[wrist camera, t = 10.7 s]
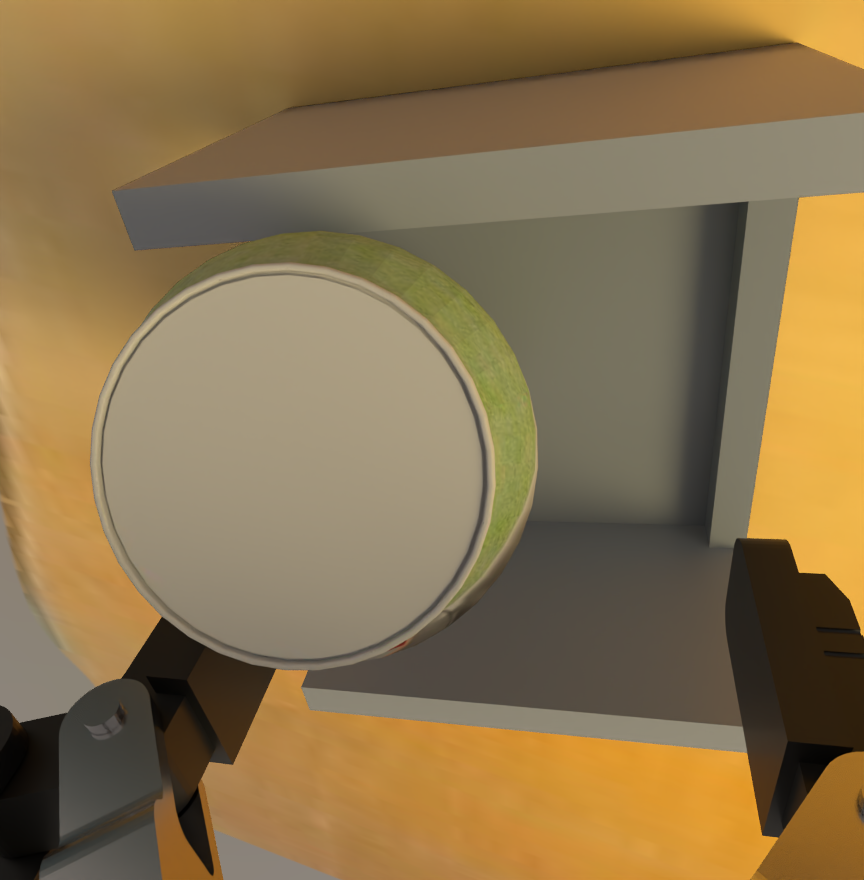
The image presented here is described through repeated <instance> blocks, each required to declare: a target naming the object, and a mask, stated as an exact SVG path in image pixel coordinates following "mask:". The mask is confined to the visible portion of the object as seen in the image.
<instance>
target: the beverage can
mask: <svg viewBox="0 0 864 880" xmlns="http://www.w3.org/2000/svg"><path fill="white" fill-rule="evenodd" d="M90 467H91V475H92V484H93V492H94V499H95V503H96V506H97V510H98V513H99V517H100V520H101V524H102V527H103V531H104V533H105V535H106V537H107V539H108V541H109V544H110V546H111V548H112V550H113V552H114V554H115V556H116V558H117V560H118V563H119V564H120V566H121V567H122V568H123V570H124V571H125V573H126V574H127V576H128V577H129V579H130V580H131V582H132V583H133V584H134V586H135V587H136V589H137V590H138V592H139V593H140V594H141V595H142V596H143V597H144V598H145V599H146V600H147V601H148V602H149V603H150V604H151V605H152V606H153V607H154V608H155V609H156V611H157V612H158V613H159V614H160V615H161V616H162V617H164V618H165V619H166V620H168V621H169V622H170V623H171V624H173V625H174V626H175V627H177V628H178V629H179V630H181V631H182V632H183V633H185V634H186V635H187V636H188V637H190V638H192V639H194V640H196V641H197V642H199V643H201V644H203V645H205V646H207V647H209V648H210V649H212V650H214V651H216V652H218V653H220V654H223V655H226V656H229V657H232V658H235V659H237V660H240V661H243V662H246V663H249V664H252V665H258V666H264V667H270V668H276V669H282V670H323V669H328V668H334V667H340V666H346V665H352V664H355V663H358V662H360V661H366V660H372V659H378V658H383V657H385V656H388V655H391V654H394V653H397V652H399V651H402V650H405V649H408V648H411V647H413V646H416V645H418V644H420V643H422V642H423V641H425V640H427V639H429V638H430V637H432V636H434V635H436V634H437V633H439V632H441V631H443V630H444V629H446V628H448V627H449V626H451V625H452V624H453V623H454V622H455V621H457V620H458V619H459V618H460V617H461V616H462V615H464V614H465V613H466V612H467V611H468V610H470V609H471V608H472V607H473V606H474V605H476V604H477V603H478V602H479V600H480V599H481V598H482V597H483V596H484V594H485V593H486V592H487V591H488V590H489V588H490V587H491V586H492V585H493V584H494V582H495V581H496V580H497V579H498V578H499V576H500V575H501V574H502V572H503V570H504V568H505V567H506V565H507V563H508V561H509V560H510V558H511V556H512V554H513V552H514V551H515V549H516V547H517V545H518V544H519V542H520V539H521V536H522V533H523V531H524V528H525V525H526V522H527V519H528V516H529V513H530V510H531V507H532V503H533V497H534V490H535V484H536V477H537V470H538V447H537V426H536V421H535V416H534V412H533V407H532V402H531V397H530V392H529V389H528V386H527V384H526V381H525V379H524V376H523V374H522V371H521V369H520V366H519V364H518V361H517V359H516V356H515V354H514V352H513V351H512V349H511V347H510V346H509V344H508V343H507V341H506V339H505V338H504V336H503V335H502V333H501V331H500V330H499V328H498V327H497V325H496V323H495V322H494V320H493V319H492V318H491V317H490V316H489V315H488V313H487V312H486V311H485V310H484V309H483V308H482V307H481V306H480V305H479V303H478V302H477V301H476V300H475V299H474V298H473V297H472V296H471V295H470V294H469V292H468V291H467V290H466V289H464V288H463V287H462V286H460V285H459V284H458V283H457V282H455V281H454V280H453V279H451V278H450V277H449V276H447V275H446V274H445V273H444V272H442V271H441V270H440V269H438V268H437V267H436V266H434V265H432V264H431V263H429V262H427V261H425V260H423V259H421V258H419V257H417V256H415V255H413V254H411V253H409V252H407V251H406V250H404V249H402V248H400V247H397V246H393V245H390V244H387V243H384V242H380V241H377V240H374V239H371V238H367V237H364V236H361V235H353V234H344V233H336V232H327V231H312V232H297V233H283V234H278V235H274V236H271V237H267V238H263V239H259V240H255V241H251V242H247V243H244V244H242V245H239V246H237V247H235V248H233V249H231V250H229V251H227V252H224V253H222V254H220V255H218V256H216V257H214V258H212V259H210V260H208V261H206V262H205V263H204V264H202V265H201V266H200V267H198V268H197V269H195V270H194V271H193V272H191V273H190V274H188V275H187V276H186V277H184V278H183V279H181V280H180V281H179V282H177V283H176V285H175V286H174V287H173V288H172V289H171V290H170V291H169V292H168V293H167V294H166V295H165V296H164V297H163V298H162V299H161V300H160V301H159V302H158V303H157V304H156V305H155V307H154V308H153V309H152V310H151V311H150V312H149V314H148V315H147V317H146V318H145V320H144V322H143V323H142V325H141V326H140V327H139V328H138V329H137V330H136V331H135V332H134V333H133V334H132V335H131V337H130V338H129V340H128V341H127V343H126V345H125V346H124V348H123V349H122V351H121V352H120V354H119V355H118V357H117V358H116V360H115V361H114V363H113V365H112V367H111V370H110V372H109V374H108V377H107V379H106V381H105V384H104V386H103V389H102V391H101V393H100V396H99V400H98V405H97V409H96V413H95V418H94V422H93V427H92V438H91V457H90Z"/></svg>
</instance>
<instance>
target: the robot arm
mask: <svg viewBox="0 0 864 880" xmlns="http://www.w3.org/2000/svg"><path fill="white" fill-rule="evenodd" d="M725 627H726V637H727V643H728V648H729V654H730V659H731V665H732V670H733V676H734V682H735V687H736V693H737V698H738V704H739V709H740V715H741V720H742V726H743V731H744V737H745V743H746V748H747V754H748V759H749V765H750V770H751V776H752V781H753V787H754V792H755V798H756V803H757V809H758V815H759V820H760V826H761V831H762V835H763V836H770V837H778V840H777V841H776V843H775V844H774V846H773V847H772V849H771V850H770V852H769V853H768V855H767V856H766V858H765V859H764V861H763V862H762V864H761V865H760V867H759V868H758V869H757V871H756V872H755V874H754V875H753V877H752V878H751V879H750V880H864V637H863V635H861V633H860V630H861V629H860V627H859V624H858V621H857V619H856V616H855V614H854V611H853V608H852V606H851V603H850V600H849V599H848V598H847V597H846V596H845V595H844V594H843V593H842V592H841V591H840V590H839V588H838V587H837V586H836V585H835V584H834V583H833V582H832V581H831V580H830V579H829V578H828V577H827V576H826V575H825V574H813V573H799V572H798V569H797V565H796V562H795V559H794V556H793V553H792V549H791V547H790V544H789V542H788V541H787V540H782V539H752V538H737V539H736V541H735V544H734V549H733V556H732V562H731V569H730V576H729V582H728V589H727V595H726V603H725ZM275 670H276V668H270V667H264V666H258V665H252V664H249V663H246V662H243V661H240V660H237V659H235V658H232V657H229V656H226V655H223V654H220V653H218V652H216V651H214V650H212V649H210V648H209V647H207V646H205V645H203V644H201V643H199V642H197V641H196V640H194V639H192V638H190V637H188V636H187V635H186V634H185V633H183V632H182V631H181V630H179V629H178V628H177V627H175V626H174V625H173V624H171V623H170V622H169V621H168V620H166V619H165V618H164V617H162V618H161V619H160V621H159V622H158V624H157V625H156V627H155V628H154V630H153V631H152V633H151V635H150V636H149V638H148V639H147V641H146V642H145V644H144V645H143V647H142V648H141V650H140V651H139V653H138V654H137V656H136V657H135V659H134V661H133V662H132V664H131V665H130V667H129V668H128V670H127V671H126V673H125V674H124V675H123V677H122V678H121V679H116V680H112V681H109V682H106V683H103V684H101V685H99V686H97V687H95V688H94V689H92V690H91V691H89V692H87V693H86V694H85V695H84V696H83V697H81V698H80V699H79V700H78V701H77V702H76V703H75V704H74V705H73V706H72V707H71V709H70V710H69V711H68V713H64V714H59V715H55V716H50V717H45V718H41V719H36V720H31V721H26V722H22V723H19V722H18V721H17V720H16V719H15V717H14V716H13V715H12V713H11V712H10V711H9V710H8V709H7V708H5V707H2V706H0V880H223V876H222V871H221V866H220V861H219V856H218V851H217V846H216V841H215V836H214V831H213V826H212V821H211V816H210V811H209V806H208V801H207V796H206V791H205V787H204V784H203V782H202V780H201V778H202V776H203V774H204V772H205V770H206V767H207V765H208V763H209V762H216V763H223V764H231V765H233V763H234V761H235V759H236V757H237V755H238V752H239V750H240V748H241V746H242V743H243V741H244V739H245V737H246V735H247V732H248V730H249V728H250V726H251V723H252V721H253V719H254V717H255V715H256V712H257V710H258V708H259V706H260V703H261V701H262V699H263V697H264V694H265V692H266V690H267V688H268V686H269V683H270V681H271V679H272V677H273V674H274V672H275Z"/></svg>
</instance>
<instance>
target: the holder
mask: <svg viewBox="0 0 864 880" xmlns="http://www.w3.org/2000/svg"><path fill="white" fill-rule="evenodd" d="M860 192H864V69H862V68H859V67H857V66H854V65H852V64H849V63H847V62H844V61H842V60H839V59H837V58H834V57H832V56H829V55H827V54H824V53H822V52H819V51H817V50H814V49H812V48H809V47H807V46H804V45H802V44H799V43H789V44H781V45H774V46H766V47H758V48H750V49H743V50H735V51H727V52H719V53H712V54H704V55H696V56H688V57H681V58H673V59H665V60H657V61H650V62H642V63H634V64H626V65H619V66H611V67H603V68H595V69H587V70H580V71H572V72H564V73H556V74H549V75H541V76H533V77H525V78H518V79H510V80H502V81H494V82H487V83H479V84H471V85H463V86H456V87H448V88H440V89H432V90H425V91H417V92H409V93H401V94H394V95H386V96H378V97H370V98H363V99H355V100H347V101H339V102H332V103H324V104H316V105H308V106H301V107H293V108H287V109H285V110H283V111H281V112H279V113H277V114H275V115H273V116H270V117H268V118H266V119H264V120H262V121H260V122H258V123H256V124H253V125H251V126H249V127H247V128H245V129H243V130H241V131H239V132H236V133H234V134H232V135H230V136H228V137H226V138H224V139H222V140H219V141H217V142H215V143H213V144H211V145H209V146H207V147H205V148H202V149H200V150H198V151H196V152H194V153H192V154H190V155H188V156H185V157H183V158H181V159H179V160H177V161H175V162H173V163H170V164H168V165H166V166H164V167H162V168H160V169H158V170H156V171H153V172H151V173H149V174H147V175H145V176H143V177H141V178H139V179H136V180H134V181H132V182H130V183H128V184H126V185H124V186H122V187H119V188H117V189H115V190H113V191H112V193H113V195H114V198H115V201H116V203H117V206H118V209H119V211H120V214H121V216H122V219H123V222H124V224H125V227H126V229H127V232H128V235H129V237H130V240H131V243H132V245H133V248H134V250H146V249H158V248H171V247H183V246H196V245H208V244H221V243H233V242H246V241H255V240H259V239H263V238H267V237H271V236H274V235H278V234H283V233H297V232H312V231H327V232H336V233H344V234H353V235H361V236H364V237H367V238H371V239H374V240H377V241H380V242H384V243H387V244H390V245H393V246H397V247H400V248H402V249H404V250H406V251H407V252H409V253H411V254H413V255H415V256H417V257H419V258H421V259H423V260H425V261H427V262H429V263H431V264H432V265H434V266H436V267H437V268H438V269H440V270H441V271H442V272H444V273H445V274H446V275H447V276H449V277H450V278H451V279H453V280H454V281H455V282H457V283H458V284H459V285H460V286H462V287H463V288H464V289H466V290H467V291H468V292H469V294H470V295H471V296H472V297H473V298H474V299H475V300H476V301H477V302H478V303H479V305H480V306H481V307H482V308H483V309H484V310H485V311H486V312H487V313H488V315H489V316H490V317H491V318H492V319H493V320H494V322H495V323H496V325H497V327H498V328H499V330H500V331H501V333H502V335H503V336H504V338H505V339H506V341H507V343H508V344H509V346H510V347H511V349H512V351H513V352H514V354H515V356H516V359H517V361H518V364H519V366H520V369H521V371H522V374H523V376H524V379H525V381H526V384H527V386H528V389H529V392H530V397H531V402H532V407H533V412H534V416H535V421H536V426H537V447H538V470H537V477H536V484H535V490H534V497H533V503H532V507H531V510H530V513H529V516H528V519H527V522H526V525H525V528H524V531H523V533H522V536H521V539H520V542H519V544H518V545H517V547H516V549H515V551H514V552H513V554H512V556H511V558H510V560H509V561H508V563H507V565H506V567H505V568H504V570H503V572H502V574H501V575H500V576H499V578H498V579H497V580H496V581H495V582H494V584H493V585H492V586H491V587H490V588H489V590H488V591H487V592H486V593H485V594H484V596H483V597H482V598H481V599H480V600H479V602H478V603H477V604H476V605H474V606H473V607H472V608H471V609H470V610H468V611H467V612H466V613H465V614H464V615H462V616H461V617H460V618H459V619H458V620H457V621H455V622H454V623H453V624H452V625H451V626H449V627H448V628H446V629H444V630H443V631H441V632H439V633H437V634H436V635H434V636H432V637H430V638H429V639H427V640H425V641H423V642H422V643H420V644H418V645H416V646H413V647H411V648H408V649H405V650H402V651H399V652H397V653H394V654H391V655H388V656H385V657H383V658H378V659H372V660H366V661H360V662H358V663H355V664H352V665H346V666H340V667H334V668H328V669H323V670H308V672H307V675H306V677H305V679H304V682H303V684H302V687H301V688H302V690H303V693H304V696H305V698H306V701H307V703H308V706H309V709H310V710H315V711H326V712H336V713H346V714H356V715H366V716H377V717H387V718H397V719H407V720H417V721H428V722H438V723H448V724H458V725H468V726H479V727H489V728H499V729H509V730H519V731H530V732H540V733H550V734H560V735H571V736H581V737H591V738H601V739H611V740H622V741H632V742H642V743H652V744H662V745H673V746H683V747H693V748H703V749H713V750H724V751H734V752H744V753H747V748H746V743H745V737H744V731H743V726H742V720H741V715H740V709H739V704H738V698H737V693H736V687H735V682H734V676H733V670H732V665H731V659H730V654H729V648H728V643H727V637H726V627H725V603H726V595H727V589H728V582H729V576H730V569H731V562H732V556H733V549H734V544H735V541H736V539H737V538H747V532H748V526H749V519H750V513H751V506H752V500H753V493H754V487H755V480H756V474H757V467H758V460H759V454H760V447H761V441H762V434H763V428H764V421H765V415H766V408H767V402H768V395H769V389H770V382H771V376H772V369H773V363H774V356H775V350H776V343H777V337H778V330H779V324H780V317H781V311H782V304H783V298H784V291H785V284H786V278H787V271H788V265H789V258H790V252H791V245H792V239H793V232H794V226H795V219H796V213H797V206H798V200H799V197H810V196H823V195H835V194H848V193H860Z"/></svg>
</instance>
